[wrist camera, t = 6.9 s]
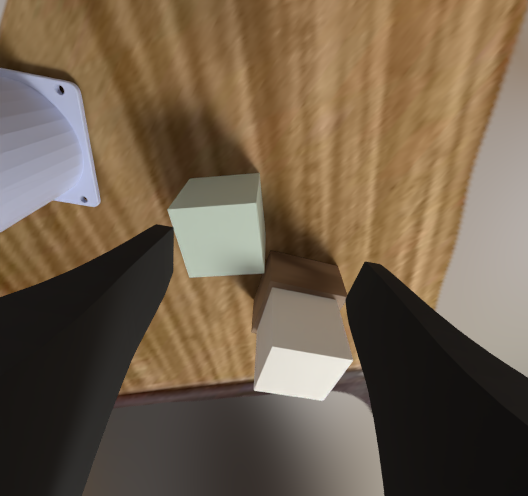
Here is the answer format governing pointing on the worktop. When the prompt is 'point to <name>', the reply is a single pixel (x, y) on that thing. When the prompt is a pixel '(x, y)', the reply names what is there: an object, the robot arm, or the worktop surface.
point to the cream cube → (300, 345)
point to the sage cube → (220, 225)
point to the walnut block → (297, 281)
